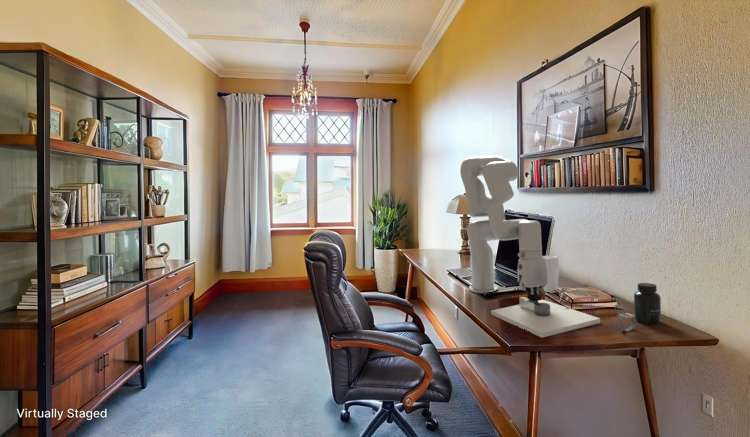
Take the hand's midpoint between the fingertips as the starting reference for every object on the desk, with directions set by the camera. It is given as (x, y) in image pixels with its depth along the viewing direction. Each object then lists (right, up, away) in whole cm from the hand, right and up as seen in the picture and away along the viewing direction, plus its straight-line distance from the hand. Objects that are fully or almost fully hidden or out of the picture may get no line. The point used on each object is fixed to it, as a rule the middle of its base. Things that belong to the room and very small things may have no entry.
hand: (533, 303), depth 132 cm
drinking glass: (+17, 0, +21) cm, 27 cm away
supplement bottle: (+29, -2, -17) cm, 34 cm away
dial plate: (0, -3, -8) cm, 8 cm away
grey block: (-2, -1, -4) cm, 5 cm away
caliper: (+22, -1, +2) cm, 22 cm away
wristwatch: (+18, -3, -23) cm, 29 cm away
